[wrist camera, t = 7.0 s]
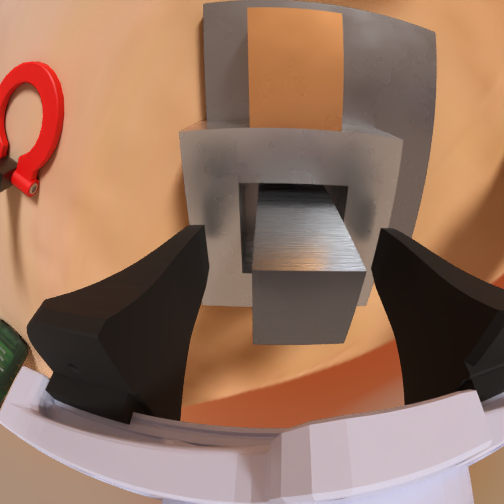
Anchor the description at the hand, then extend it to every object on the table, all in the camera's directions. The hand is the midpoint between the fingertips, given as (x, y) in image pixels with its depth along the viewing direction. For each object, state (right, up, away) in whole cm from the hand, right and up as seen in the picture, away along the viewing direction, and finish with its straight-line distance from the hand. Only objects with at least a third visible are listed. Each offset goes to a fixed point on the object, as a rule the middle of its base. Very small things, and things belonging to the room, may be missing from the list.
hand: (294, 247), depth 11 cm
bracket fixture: (+2, +5, +3) cm, 6 cm away
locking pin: (0, +2, +3) cm, 4 cm away
